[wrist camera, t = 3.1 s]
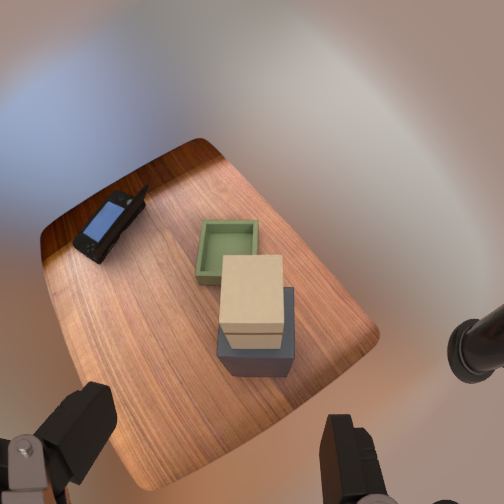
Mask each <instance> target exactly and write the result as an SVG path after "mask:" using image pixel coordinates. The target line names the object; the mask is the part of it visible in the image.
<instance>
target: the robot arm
mask: <svg viewBox="0 0 504 504" xmlns="http://www.w3.org/2000/svg"><path fill="white" fill-rule="evenodd" d="M458 356H459V360H460V362H461V364H462V366H463V367H464V369H465V370H466V371H468V372H469V373H471V374H473V375H481V374H484V373H486V372H488V371H492V370H495V369H497V368H500V367H503V368H504V304H503V305H501V306H500V307H499V308H497V309H496V310H494V311H493V312H491V313H490V314H488V315H487V316H485V317H484V318H482V319H481V320H479V321H477V322H475V324H472V325H470V326H469V327H467V328H466V329H465V330H464V331H463V332H462V334H461V336H460V338H459V341H458ZM116 424H117V413H116V409H115V405H114V401H113V397H112V393H111V389H110V387H109V386H107V385H103V384H99V383H96V382H92V381H91V382H88V383H87V385H86V386H85V387H84V388H83V389H82V391H79V390H77V391H76V392H74V393H72V394H70V395H68V396H67V397H66V398H65V399H64V400H63V401H62V402H61V404H60V406H58V407H57V408H56V409H55V411H54V412H53V413H52V414H51V415H50V416H49V417H48V418H47V419H46V420H45V422H44V423H43V424H42V425H41V426H40V428H39V429H38V430H37V431H36V432H35V433H34V434H33V435H29V434H24V435H19V436H17V437H15V438H14V439H12V440H6V439H2V438H0V504H71V501H70V497H69V493H68V489H67V487H66V486H67V484H68V482H69V481H70V482H73V483H75V484H77V485H80V484H81V483H82V481H83V480H84V478H85V476H86V475H87V473H88V471H89V470H90V468H91V466H92V465H93V463H94V461H95V460H96V458H97V457H98V455H99V453H100V452H101V450H102V449H103V447H104V445H105V444H106V442H107V441H108V439H109V437H110V436H111V434H112V433H113V431H114V429H115V427H116ZM319 457H320V469H321V481H322V493H323V504H398V503H397V502H396V501H395V500H394V499H393V498H391V497H389V496H388V494H387V491H386V488H385V484H384V480H383V476H382V472H381V468H380V465H379V461H378V460H377V454H376V451H375V447H374V443H373V440H372V437H371V436H370V435H369V433H368V432H367V431H366V430H365V429H364V428H354V427H353V423H352V419H351V416H350V415H349V414H336V415H335V414H334V415H333V414H332V415H331V414H329V415H328V417H327V421H326V425H325V428H324V432H323V436H322V440H321V444H320V451H319ZM434 504H458V503H457V502H454V501H451V500H440V501H437V502H435V503H434Z"/></svg>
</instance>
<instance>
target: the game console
mask: <svg viewBox="0 0 504 504" xmlns="http://www.w3.org/2000/svg"><path fill="white" fill-rule="evenodd" d="M148 187H149V186H148V184H146V185H145V186H144V187H143V188H142V189H141V190H140V191H139V193H138V194H137V195H136V196H135V197H133V196H131V195H128V194H126V193H124V192H121V191H119V190H116V191H114V192H112V193H111V195H110V196H109V197H108V198H107V199H106V200H105V202H104V203H103V204H102V205H101V206H100V208H99V209H98V210H97V211H96V212H95V213H94V215H93V216H92V217H91V218H90V220H89V221H88V222H87V223H86V225H85V226H84V227H83V228H82V230H81V231H80V232H79V233H78V235H77V236H76V237H75V239H74V240H73V246H74V247H75V248H76V249H77V250H79V251H80V252H81V253H83V254H84V255H86V256H87V257H89V258H90V259H92V260H93V261H94V262H96V263H97V264H101V263H102V261H103V260H104V259H105V257H106V255H107V254H108V253H109V251H110V250H111V249H112V247H113V246H114V245H115V243H116V242H117V240H118V239H119V237H120V234H121V233H122V232H123V231H124V230H126V229H127V227H128V226H129V225H130V224H131V223H132V222H133V220H134V219H135V218H136V217H137V215H138V214H139V213H140V212H141V211H142V210H143V209H144V207H145V205H146V204H145V202H144V198H145V195H146V192H147V190H148Z"/></svg>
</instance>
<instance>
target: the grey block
mask: <svg viewBox="0 0 504 504" xmlns="http://www.w3.org/2000/svg"><path fill="white" fill-rule="evenodd" d="M283 292H284V327H283V335H282V341H281V348H280V349H232V348H231V346H230V344H229V342H228V340H227V338H226V336H225V335H224V334H223V330H222V328H221V326H220V324H219V330H218V344H217V357H218V358H219V360H220V361H221V362H222V363H223V365H224V366H225V367H226V368H227V370H228V371H229V372H230V373H231V375H232V376H244V377H287V375H288V373H289V370H290V368H291V365H292V363H293V360H294V358H295V327H294V287H283Z"/></svg>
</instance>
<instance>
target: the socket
mask: <svg viewBox="0 0 504 504" xmlns="http://www.w3.org/2000/svg"><path fill="white" fill-rule="evenodd" d="M258 245H259V225H258V220H203V221H202V228H201V235H200V241H199V249H198V256H197V263H196V271H195V277H196V279H197V281H198V283H199V285H221V280H222V265H223V255H258Z"/></svg>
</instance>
